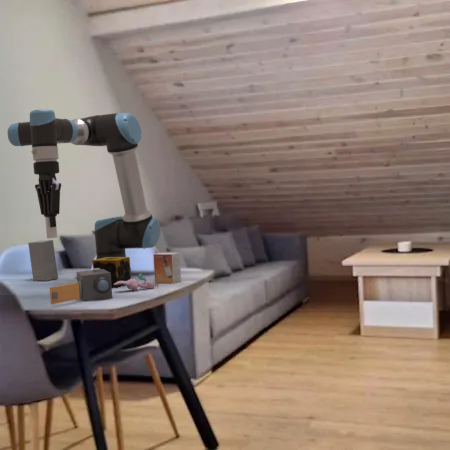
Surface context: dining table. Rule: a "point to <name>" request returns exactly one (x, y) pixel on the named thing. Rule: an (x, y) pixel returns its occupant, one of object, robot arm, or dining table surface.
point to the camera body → (95, 284)
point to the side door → (66, 292)
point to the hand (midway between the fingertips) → (52, 237)
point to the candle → (115, 268)
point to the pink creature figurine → (134, 284)
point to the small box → (167, 267)
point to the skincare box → (43, 260)
